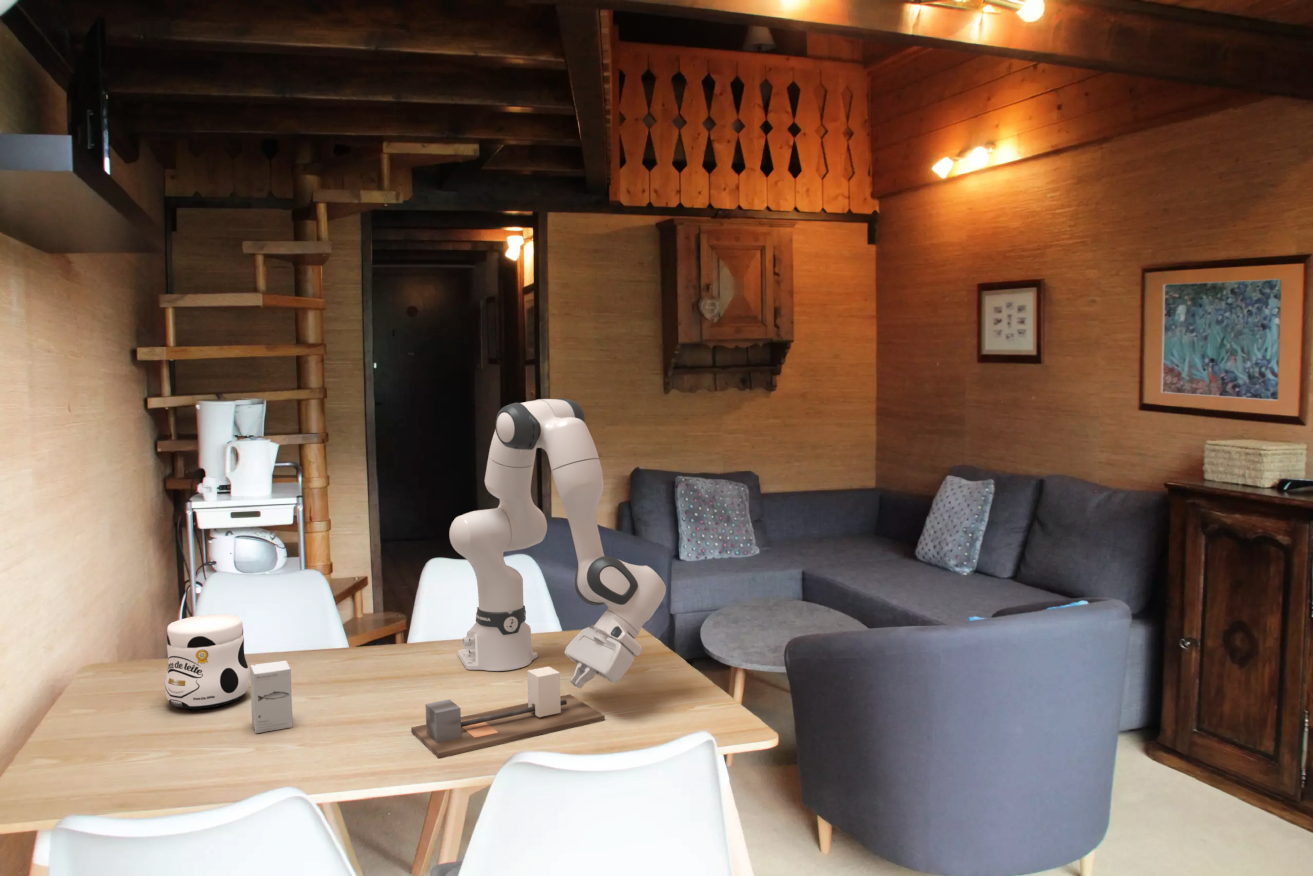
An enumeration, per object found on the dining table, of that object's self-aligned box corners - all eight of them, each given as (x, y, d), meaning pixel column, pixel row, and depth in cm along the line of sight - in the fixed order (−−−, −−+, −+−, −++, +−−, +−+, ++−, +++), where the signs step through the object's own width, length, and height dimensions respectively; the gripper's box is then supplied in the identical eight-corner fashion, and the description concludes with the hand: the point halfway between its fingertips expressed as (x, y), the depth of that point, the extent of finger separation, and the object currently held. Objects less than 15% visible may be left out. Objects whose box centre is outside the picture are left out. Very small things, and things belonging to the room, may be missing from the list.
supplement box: (255, 734, 200) (252, 673, 199) (251, 723, 207) (249, 664, 206) (293, 728, 203) (291, 668, 202) (289, 717, 210) (286, 659, 209)
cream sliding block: (528, 710, 208) (527, 670, 207) (549, 705, 210) (548, 666, 210) (538, 717, 203) (538, 677, 203) (560, 712, 206) (559, 672, 205)
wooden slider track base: (411, 732, 200) (410, 698, 200) (569, 698, 219) (569, 667, 219) (438, 758, 187) (437, 722, 186) (604, 720, 206) (604, 687, 205)
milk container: (155, 718, 210) (151, 635, 209) (177, 692, 227) (173, 615, 226) (242, 711, 214) (238, 630, 213) (257, 686, 231) (253, 610, 229)
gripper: (582, 615, 222) (544, 665, 218) (628, 635, 205) (587, 689, 201) (600, 631, 225) (562, 681, 221) (646, 652, 208) (607, 707, 203)
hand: (574, 685), depth 210 cm, fingers closed
